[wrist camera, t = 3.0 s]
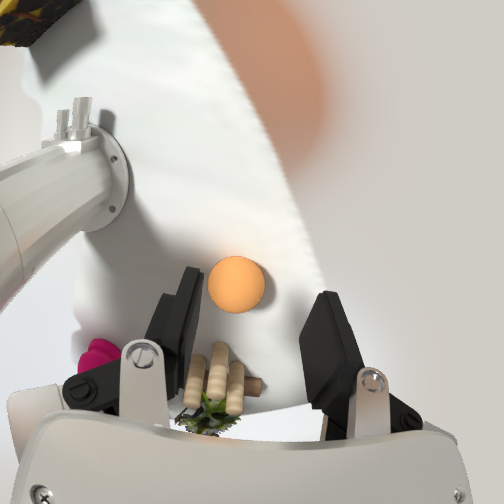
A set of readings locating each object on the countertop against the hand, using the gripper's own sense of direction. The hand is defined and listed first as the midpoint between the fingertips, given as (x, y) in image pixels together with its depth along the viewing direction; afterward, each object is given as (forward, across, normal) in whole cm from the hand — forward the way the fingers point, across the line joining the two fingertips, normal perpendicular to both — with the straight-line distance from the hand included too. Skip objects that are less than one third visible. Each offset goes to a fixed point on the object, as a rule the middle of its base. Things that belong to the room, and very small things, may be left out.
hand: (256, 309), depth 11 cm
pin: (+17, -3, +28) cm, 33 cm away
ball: (+14, 0, +10) cm, 17 cm away
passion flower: (+18, 0, +38) cm, 42 cm away
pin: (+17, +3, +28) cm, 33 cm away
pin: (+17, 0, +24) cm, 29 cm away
